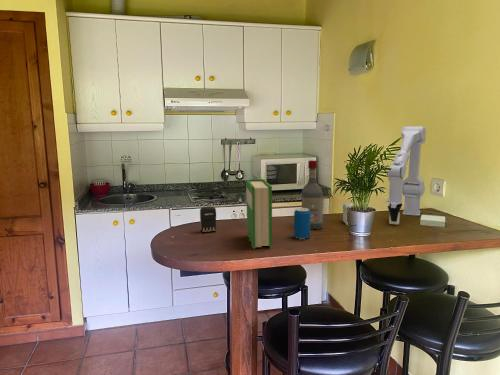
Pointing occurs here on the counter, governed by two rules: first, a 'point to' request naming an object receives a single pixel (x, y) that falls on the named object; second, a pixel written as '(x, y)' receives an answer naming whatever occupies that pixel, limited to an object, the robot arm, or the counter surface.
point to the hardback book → (259, 212)
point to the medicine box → (345, 212)
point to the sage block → (432, 220)
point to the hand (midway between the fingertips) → (394, 220)
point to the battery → (208, 217)
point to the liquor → (313, 198)
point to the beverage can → (302, 223)
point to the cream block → (393, 221)
